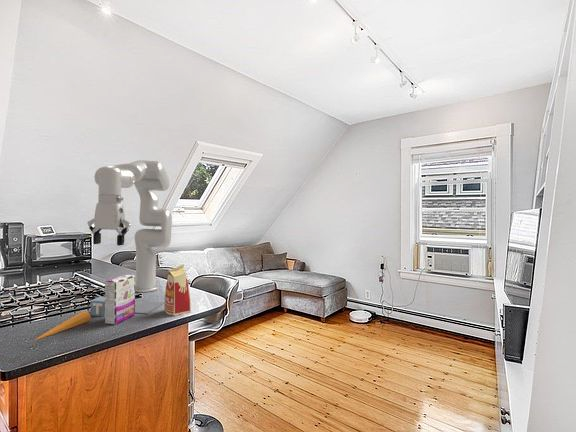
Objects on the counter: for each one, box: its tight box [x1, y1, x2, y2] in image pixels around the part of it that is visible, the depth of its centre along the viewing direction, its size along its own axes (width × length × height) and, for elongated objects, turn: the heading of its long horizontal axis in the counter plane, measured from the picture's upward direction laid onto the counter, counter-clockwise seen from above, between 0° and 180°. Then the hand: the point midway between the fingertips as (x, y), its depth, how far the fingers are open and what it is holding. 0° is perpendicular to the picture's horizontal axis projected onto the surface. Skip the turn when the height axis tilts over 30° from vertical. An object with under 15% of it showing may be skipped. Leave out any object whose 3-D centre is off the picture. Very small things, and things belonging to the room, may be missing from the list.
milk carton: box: [163, 263, 192, 316], centre depth 136 cm, size 9×9×20 cm
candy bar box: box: [104, 274, 136, 326], centre depth 125 cm, size 11×5×16 cm, turn 168°
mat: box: [135, 300, 164, 315], centre depth 140 cm, size 15×10×1 cm, turn 175°
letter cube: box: [89, 295, 105, 317], centre depth 131 cm, size 6×6×6 cm
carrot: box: [34, 311, 92, 341], centre depth 113 cm, size 20×4×4 cm, turn 162°
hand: (108, 244), depth 123 cm, fingers open, 9 cm apart
